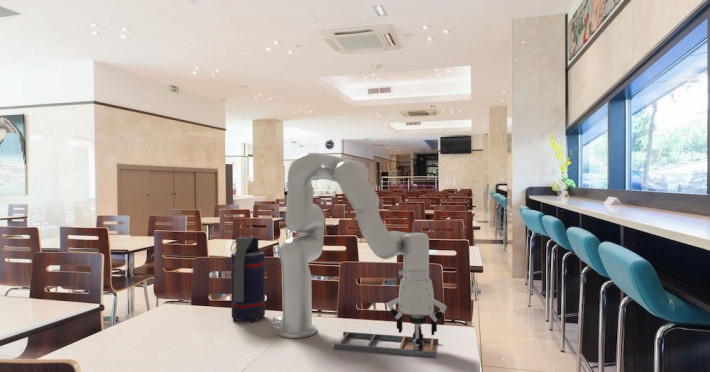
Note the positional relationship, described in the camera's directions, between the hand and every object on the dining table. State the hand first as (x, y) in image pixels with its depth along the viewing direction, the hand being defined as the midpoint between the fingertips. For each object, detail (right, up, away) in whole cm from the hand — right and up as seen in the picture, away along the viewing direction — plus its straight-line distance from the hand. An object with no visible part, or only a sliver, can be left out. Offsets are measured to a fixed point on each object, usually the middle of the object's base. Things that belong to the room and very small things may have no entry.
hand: (416, 332), depth 129 cm
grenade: (-58, -5, +30) cm, 65 cm away
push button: (0, -5, 0) cm, 5 cm away
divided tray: (-9, -5, +2) cm, 10 cm away
